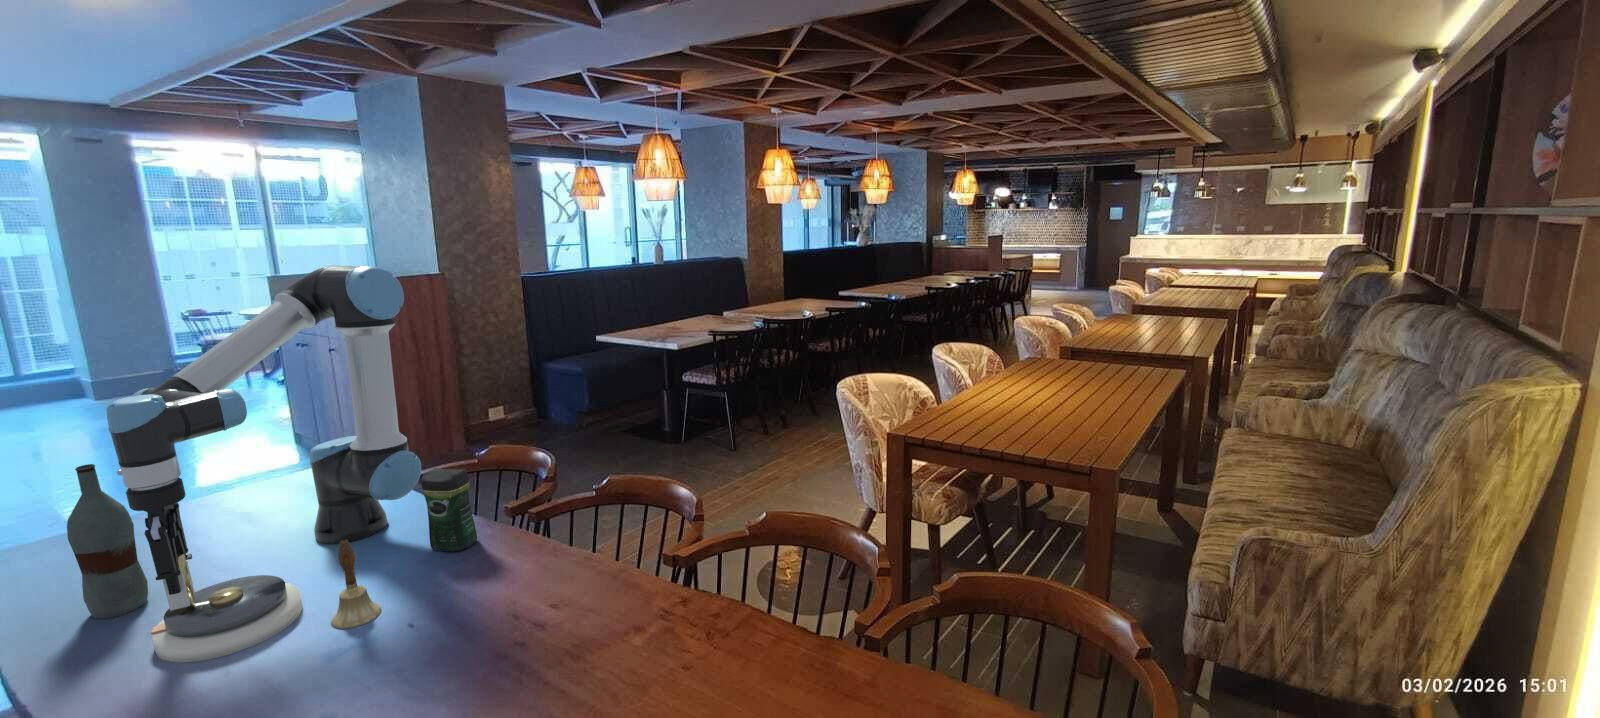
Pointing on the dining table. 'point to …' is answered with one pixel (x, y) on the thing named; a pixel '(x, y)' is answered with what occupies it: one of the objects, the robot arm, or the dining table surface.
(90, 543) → the bottle
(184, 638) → the wheel base
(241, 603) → the handwheel
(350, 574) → the hand bell
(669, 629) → the dining table surface
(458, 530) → the coffee jar
